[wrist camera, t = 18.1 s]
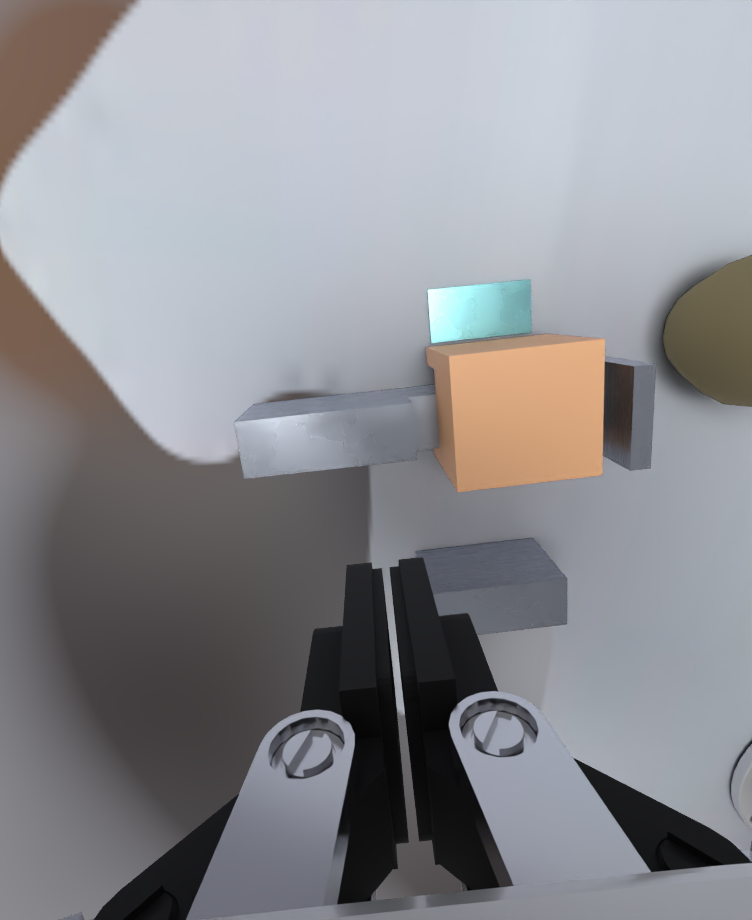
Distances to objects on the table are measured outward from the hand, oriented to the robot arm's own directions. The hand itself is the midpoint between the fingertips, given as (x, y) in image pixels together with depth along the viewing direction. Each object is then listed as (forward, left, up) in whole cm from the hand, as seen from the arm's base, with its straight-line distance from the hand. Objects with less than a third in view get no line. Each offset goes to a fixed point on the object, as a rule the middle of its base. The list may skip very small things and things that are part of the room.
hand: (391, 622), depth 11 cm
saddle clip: (+1, -8, -20) cm, 21 cm away
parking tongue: (-11, -7, -21) cm, 24 cm away
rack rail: (+3, -4, -21) cm, 22 cm away
